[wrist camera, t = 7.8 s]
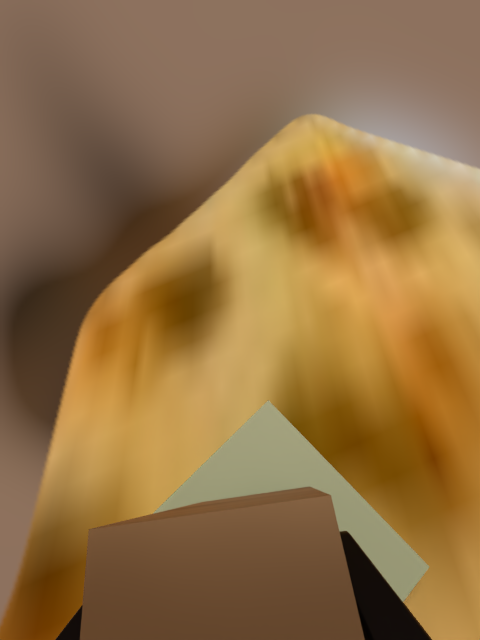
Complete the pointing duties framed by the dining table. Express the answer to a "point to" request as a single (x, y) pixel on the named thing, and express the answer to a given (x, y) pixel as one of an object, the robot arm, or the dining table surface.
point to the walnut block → (223, 573)
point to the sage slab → (296, 472)
